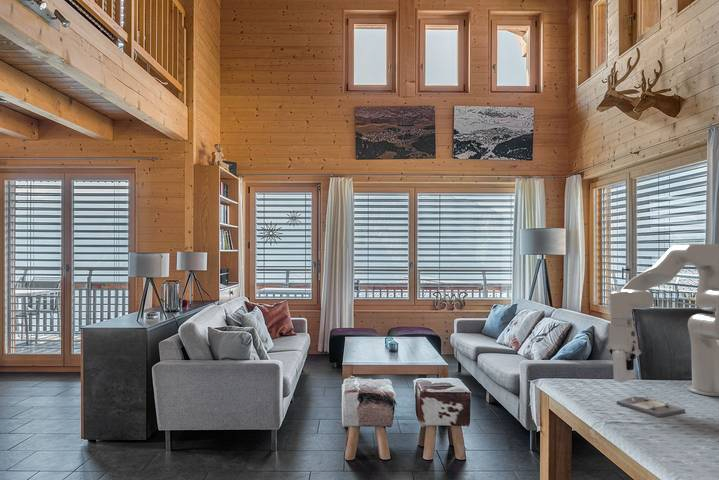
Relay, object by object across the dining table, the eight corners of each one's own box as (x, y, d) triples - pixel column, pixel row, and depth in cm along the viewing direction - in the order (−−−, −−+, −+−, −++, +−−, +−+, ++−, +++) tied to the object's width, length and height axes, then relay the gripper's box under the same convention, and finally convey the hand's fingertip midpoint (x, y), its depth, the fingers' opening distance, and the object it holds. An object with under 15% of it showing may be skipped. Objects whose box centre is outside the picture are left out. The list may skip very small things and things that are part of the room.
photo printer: (625, 376, 192) (624, 345, 192) (636, 378, 188) (635, 347, 189) (612, 380, 186) (610, 349, 187) (623, 383, 183) (621, 351, 183)
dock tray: (642, 399, 181) (642, 392, 181) (685, 412, 166) (685, 404, 167) (616, 403, 176) (616, 397, 176) (658, 417, 161) (658, 409, 161)
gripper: (648, 324, 182) (650, 371, 181) (609, 319, 197) (611, 363, 197) (634, 325, 179) (637, 374, 178) (596, 320, 194) (598, 365, 194)
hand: (623, 367), depth 187 cm, fingers closed on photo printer, 4 cm apart
